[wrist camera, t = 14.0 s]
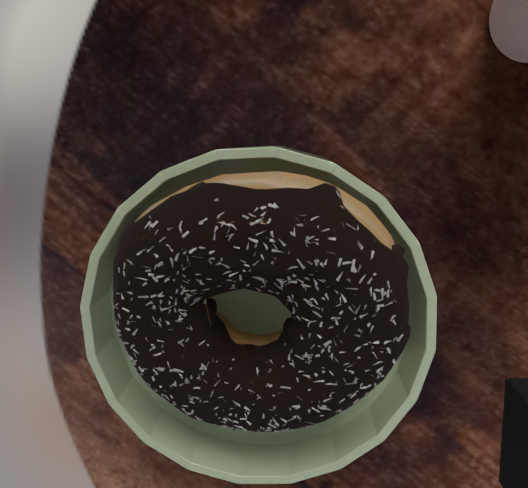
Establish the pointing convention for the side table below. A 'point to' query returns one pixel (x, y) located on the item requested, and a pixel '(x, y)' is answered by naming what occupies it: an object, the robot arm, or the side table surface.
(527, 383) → the robot arm
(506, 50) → the smoothie
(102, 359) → the bowl
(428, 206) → the side table surface
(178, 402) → the donut
